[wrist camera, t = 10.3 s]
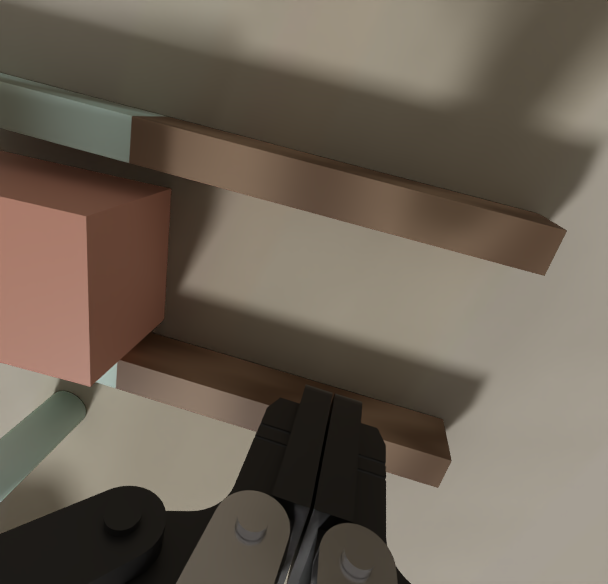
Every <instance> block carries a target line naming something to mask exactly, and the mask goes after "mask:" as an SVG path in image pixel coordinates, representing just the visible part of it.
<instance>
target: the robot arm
mask: <svg viewBox="0 0 608 584" xmlns="http://www.w3.org/2000/svg"><path fill="white" fill-rule="evenodd" d="M332 394H333V393H332V392H329V391H325V390H322V389H319V388H316V387H313V386H309V385H306V386H305V389H304V392H303V395H302V398H301V402H300V403H296V402H293V401H290V400H287V399H284V398H281V397H280V398H279V399H278V400H276V401H275V402H274V403H272V404H271V405H270V406H268V407H267V409H266V411H265V414H264V416H263V418H262V421H261V424H260V426H259V428H258V430H257V433H256V435H255V438H254V440H253V442H252V445H251V447H250V449H249V452H248V454H247V457H246V459H245V461H244V464H243V466H242V468H241V471H240V473H239V476H238V478H237V480H236V483H235V485H234V487H233V489H232V491H231V492H230V494H229V495H228V496H227V497H226V498H225V499H224V500H223V501H221V502H220V503H218V504H217V505H215V506H213V507H210V508H207V509H204V510H199V511H165V507H164V505H163V503H162V501H161V500H160V498H159V497H158V496H157V495H156V494H154V493H153V492H151V491H150V490H147V489H145V488H141V487H137V486H122V487H117V488H113V489H110V490H107V491H105V492H102V493H100V494H97V495H95V496H92V497H90V498H87V499H85V500H83V501H80V502H78V503H75V504H73V505H70V506H68V507H65V508H63V509H61V510H58V511H56V512H53V513H51V514H48V515H46V516H43V517H41V518H39V519H36V520H34V521H31V522H29V523H26V524H24V525H21V526H19V527H16V528H14V529H12V530H9V531H7V532H4V533H2V534H0V584H284V582H285V579H286V576H287V573H288V570H289V567H290V571H289V575H288V580H287V584H411V583H410V582H409V581H408V580H407V579H406V578H405V577H404V576H403V575H402V574H401V573H400V571H399V570H398V569H397V567H396V565H395V561H394V558H393V556H392V554H391V552H390V550H389V548H388V547H387V542H386V481H385V478H386V466H385V464H386V445H385V442H384V440H383V438H382V436H381V434H380V432H379V430H378V428H376V427H373V426H369V425H366V424H363V423H361V417H362V402H361V401H358V400H355V399H351V398H348V397H345V396H342V395H339V394H334V396H333V399H332ZM331 400H332V402H331ZM290 565H291V566H290Z"/></svg>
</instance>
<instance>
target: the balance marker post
mask: <svg viewBox="0 0 608 584" xmlns="http://www.w3.org/2000/svg"><path fill="white" fill-rule="evenodd" d="M85 415H86V409H85V406H84V404H83V402H82V401H81V400H80V399H79V398H78V397H77V396H75V395H74V394H72V393H70V392H66V391H59V392H56V393H54V394H53V395H52V396H51V397H50V398H48V399H47V400H46V401H45V402H44V403H43V404H41V405H40V406H39V407H38V408H37V409H35V410H34V411H33V412H32V413H31V414H29V415H28V416H27V417H26V418H25V419H23V420H22V421H21V422H20V423H19V424H17V425H16V426H15V427H14V428H13V429H11V430H10V431H9V432H8V433H7V434H6V435H4V436H3V437H2V438H1V439H0V502H1V501H2V500H3V499H4V498H5V497H6V496H7V495H8V494H9V493H10V492H11V491H12V490H13V489H14V488H15V487H16V486H17V485H18V484H19V483H20V482H21V481H22V480H23V479H24V478H25V477H26V476H27V475H28V474H29V473H30V472H31V471H32V470H33V469H34V468H35V467H36V466H37V465H38V464H39V463H40V462H41V461H42V460H43V459H44V458H45V457H46V456H47V455H48V454H49V453H50V452H51V451H52V450H53V449H54V448H55V447H56V446H57V445H58V444H59V443H60V442H61V441H62V440H63V439H64V438H65V437H66V436H67V435H68V434H69V433H70V432H71V431H72V430H73V429H74V428H75V427H76V426H77V425H78V424H79V423H80V422H81V421H82V420H83V419H84V418H85Z"/></svg>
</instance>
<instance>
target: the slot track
mask: <svg viewBox="0 0 608 584" xmlns="http://www.w3.org/2000/svg"><path fill="white" fill-rule="evenodd" d="M0 128H2V129H5V130H9V131H13V132H16V133H20V134H24V135H27V136H31V137H35V138H38V139H42V140H46V141H49V142H53V143H57V144H61V145H64V146H68V147H72V148H75V149H79V150H83V151H86V152H90V153H94V154H97V155H101V156H105V157H108V158H112V159H116V160H120V161H123V162H127V163H131V164H134V165H138V166H142V167H145V168H149V169H153V170H156V171H160V172H164V173H167V174H171V175H175V176H179V177H182V178H186V179H190V180H193V181H197V182H201V183H204V184H208V185H212V186H215V187H219V188H223V189H226V190H230V191H234V192H237V193H241V194H245V195H249V196H252V197H256V198H260V199H263V200H267V201H271V202H274V203H278V204H282V205H285V206H289V207H293V208H296V209H300V210H304V211H308V212H311V213H315V214H319V215H322V216H326V217H330V218H333V219H337V220H341V221H344V222H348V223H352V224H355V225H359V226H363V227H367V228H370V229H374V230H378V231H381V232H385V233H389V234H392V235H396V236H400V237H403V238H407V239H411V240H414V241H418V242H422V243H426V244H429V245H433V246H437V247H440V248H444V249H448V250H451V251H455V252H459V253H462V254H466V255H470V256H473V257H477V258H481V259H485V260H488V261H492V262H496V263H499V264H503V265H507V266H510V267H514V268H518V269H521V270H525V271H529V272H532V273H536V274H540V275H544V276H545V274H546V272H547V270H548V268H549V266H550V264H551V262H552V260H553V258H554V256H555V254H556V252H557V250H558V248H559V246H560V244H561V242H562V240H563V238H564V236H565V234H566V232H567V230H565V229H563V228H562V227H560V226H558V225H557V224H555V223H553V222H552V221H550V220H548V219H547V218H545V217H543V216H542V215H540V214H538V213H534V212H530V211H526V210H522V209H519V208H515V207H511V206H507V205H503V204H500V203H496V202H492V201H488V200H484V199H481V198H477V197H473V196H469V195H465V194H461V193H458V192H454V191H450V190H446V189H442V188H439V187H435V186H431V185H427V184H423V183H419V182H416V181H412V180H408V179H404V178H400V177H397V176H393V175H389V174H385V173H381V172H377V171H374V170H370V169H366V168H362V167H358V166H355V165H351V164H347V163H343V162H339V161H335V160H332V159H328V158H324V157H320V156H316V155H313V154H309V153H305V152H301V151H297V150H293V149H290V148H286V147H282V146H278V145H274V144H271V143H267V142H263V141H259V140H255V139H252V138H248V137H244V136H240V135H236V134H232V133H229V132H225V131H221V130H217V129H213V128H210V127H206V126H202V125H198V124H194V123H190V122H187V121H183V120H179V119H175V118H171V117H168V116H164V115H160V114H156V113H152V112H148V111H145V110H141V109H137V108H133V107H129V106H126V105H122V104H118V103H114V102H110V101H106V100H103V99H99V98H95V97H91V96H87V95H84V94H80V93H76V92H72V91H68V90H65V89H61V88H57V87H53V86H49V85H45V84H42V83H38V82H34V81H30V80H26V79H23V78H19V77H15V76H11V75H7V74H3V73H0ZM96 382H97V383H100V384H103V385H107V386H110V387H113V388H116V389H120V390H123V391H126V392H129V393H133V394H136V395H139V396H142V397H145V398H149V399H152V400H155V401H158V402H162V403H165V404H168V405H171V406H175V407H178V408H181V409H184V410H188V411H191V412H194V413H197V414H201V415H204V416H207V417H210V418H214V419H217V420H220V421H223V422H226V423H230V424H233V425H236V426H239V427H243V428H246V429H249V430H252V431H256V432H257V430H258V428H259V426H260V424H261V421H262V418H263V416H264V414H265V411H266V409H267V407H268V406H270V405H271V404H272V403H274V402H275V401H276V400H278V399H279V398H280V397H281V398H284V399H287V400H290V401H293V402H296V403H300V402H301V398H302V395H303V392H304V389H305V386H306V385H309V386H313V387H316V388H319V389H322V390H325V391H329V392H332V393H333V394H332V399H333V396H334V394H339V395H342V396H345V397H348V398H351V399H355V400H358V401H361V402H362V417H361V423H363V424H366V425H369V426H373V427H376V428H378V430H379V432H380V434H381V436H382V438H383V440H384V442H385V445H386V464H385V466H386V472H389V473H392V474H395V475H398V476H401V477H405V478H408V479H411V480H414V481H418V482H421V483H424V484H427V485H431V486H434V487H437V488H438V487H439V485H440V483H441V481H442V479H443V477H444V475H445V473H446V471H447V469H448V467H449V465H450V463H451V461H452V460H451V456H450V451H449V446H448V441H447V436H446V431H445V426H444V422H443V419H440V418H437V417H433V416H430V415H426V414H423V413H420V412H416V411H413V410H410V409H406V408H403V407H400V406H396V405H393V404H390V403H386V402H383V401H379V400H376V399H373V398H369V397H366V396H363V395H359V394H356V393H353V392H349V391H346V390H342V389H339V388H336V387H332V386H329V385H326V384H322V383H319V382H316V381H312V380H309V379H306V378H302V377H299V376H295V375H292V374H289V373H285V372H282V371H279V370H275V369H272V368H269V367H265V366H262V365H259V364H255V363H252V362H248V361H245V360H242V359H238V358H235V357H232V356H228V355H225V354H222V353H218V352H215V351H212V350H208V349H205V348H201V347H198V346H195V345H191V344H188V343H185V342H181V341H178V340H175V339H171V338H168V337H164V336H161V335H158V334H154V333H151V332H150V333H149V334H148V335H147V336H145V337H144V338H143V339H142V340H141V341H140V342H139V343H138V344H137V345H136V346H135V347H133V348H132V349H131V350H130V351H129V352H128V353H127V354H126V355H125V356H124V357H123V358H121V359H120V360H119V361H118V362H117V363H116V364H115V365H114V366H113V367H112V368H111V369H109V370H108V371H107V372H106V373H105V374H104V375H103V376H102V377H101V378H100V379H98V380H97V381H96ZM331 402H332V400H331Z"/></svg>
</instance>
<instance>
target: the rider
mask: <svg viewBox="0 0 608 584" xmlns="http://www.w3.org/2000/svg"><path fill="white" fill-rule="evenodd" d="M170 205H171V188H167V187H162V186H158V185H153V184H149V183H144V182H140V181H135V180H131V179H126V178H122V177H117V176H113V175H108V174H104V173H99V172H95V171H90V170H86V169H81V168H77V167H72V166H68V165H63V164H59V163H54V162H50V161H45V160H41V159H36V158H32V157H27V156H23V155H18V154H14V153H9V152H5V151H0V363H4V364H8V365H12V366H15V367H19V368H23V369H26V370H30V371H34V372H38V373H41V374H45V375H49V376H52V377H56V378H60V379H64V380H67V381H71V382H75V383H78V384H82V385H86V386H90V387H91V386H92V385H93V384H94V383H95V382H96V381H97V380H98V379H100V378H101V377H102V376H103V375H104V374H105V373H106V372H107V371H108V370H109V369H111V368H112V367H113V366H114V365H115V364H116V363H117V362H118V361H119V360H120V359H121V358H123V357H124V356H125V355H126V354H127V353H128V352H129V351H130V350H131V349H132V348H133V347H135V346H136V345H137V344H138V343H139V342H140V341H141V340H142V339H143V338H144V337H145V336H147V335H148V334H149V333H150V332H151V331H152V330H153V329H154V328H155V327H156V326H157V325H159V324H160V323H161V322H162V321H163V320H164V314H165V296H166V278H167V259H168V241H169V223H170Z"/></svg>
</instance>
